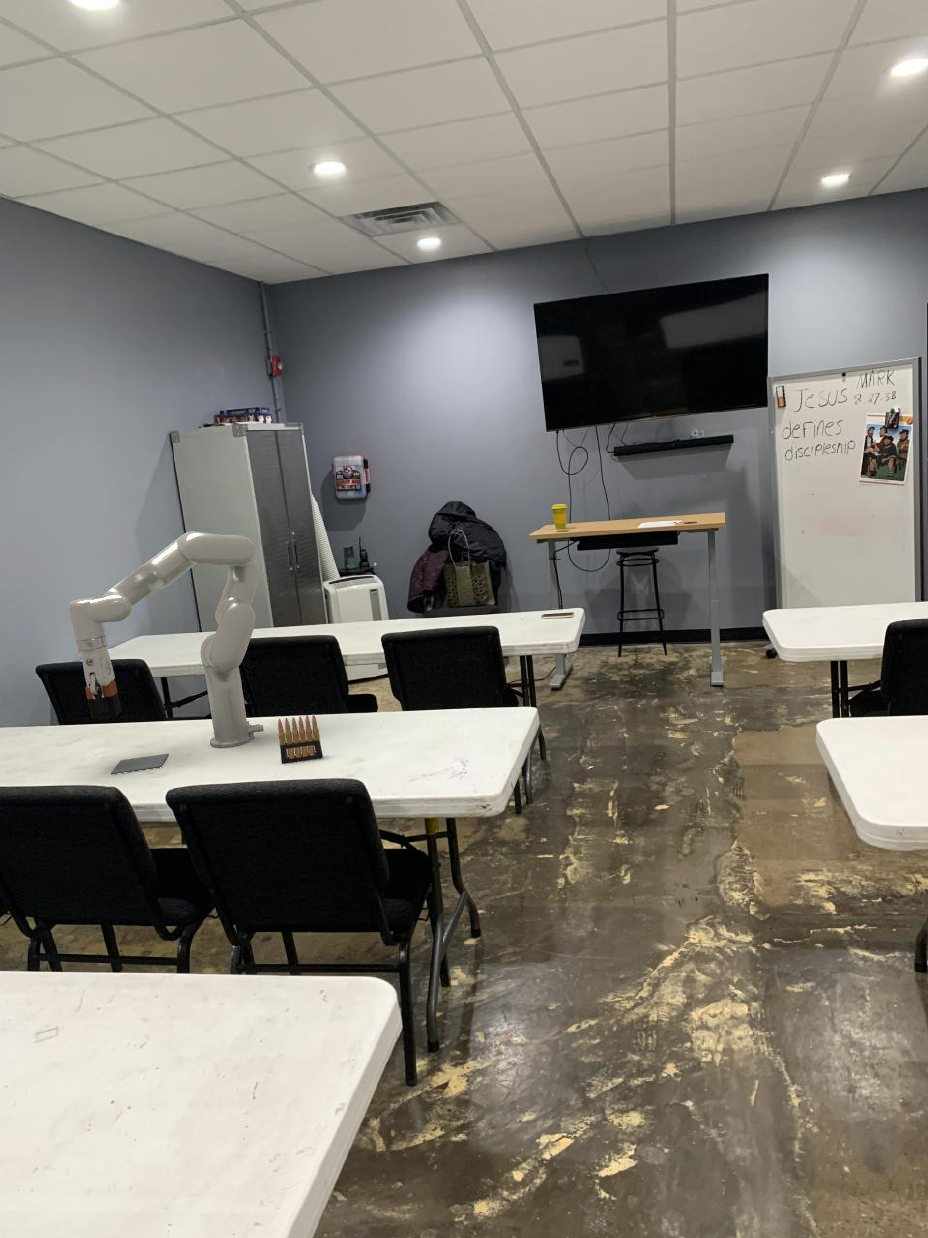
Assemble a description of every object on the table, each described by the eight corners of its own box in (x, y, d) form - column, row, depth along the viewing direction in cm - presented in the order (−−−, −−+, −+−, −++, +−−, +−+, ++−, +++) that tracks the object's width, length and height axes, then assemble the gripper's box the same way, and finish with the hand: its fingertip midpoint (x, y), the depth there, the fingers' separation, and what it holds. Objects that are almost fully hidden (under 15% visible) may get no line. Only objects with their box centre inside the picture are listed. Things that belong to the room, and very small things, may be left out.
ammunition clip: (322, 756, 228) (317, 712, 226) (322, 758, 226) (316, 714, 224) (282, 762, 227) (275, 718, 225) (281, 764, 225) (275, 720, 223)
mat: (168, 755, 243) (168, 753, 243) (161, 767, 232) (160, 766, 232) (120, 761, 241) (120, 760, 241) (111, 774, 230) (110, 773, 230)
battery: (116, 716, 232) (109, 680, 230) (91, 719, 232) (83, 683, 230) (122, 711, 236) (115, 676, 234) (97, 715, 236) (89, 679, 234)
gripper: (97, 648, 222) (111, 716, 226) (114, 636, 239) (127, 699, 242) (67, 653, 222) (82, 720, 225) (86, 640, 238) (100, 703, 241)
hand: (105, 708), depth 234 cm, fingers closed on battery, 4 cm apart
